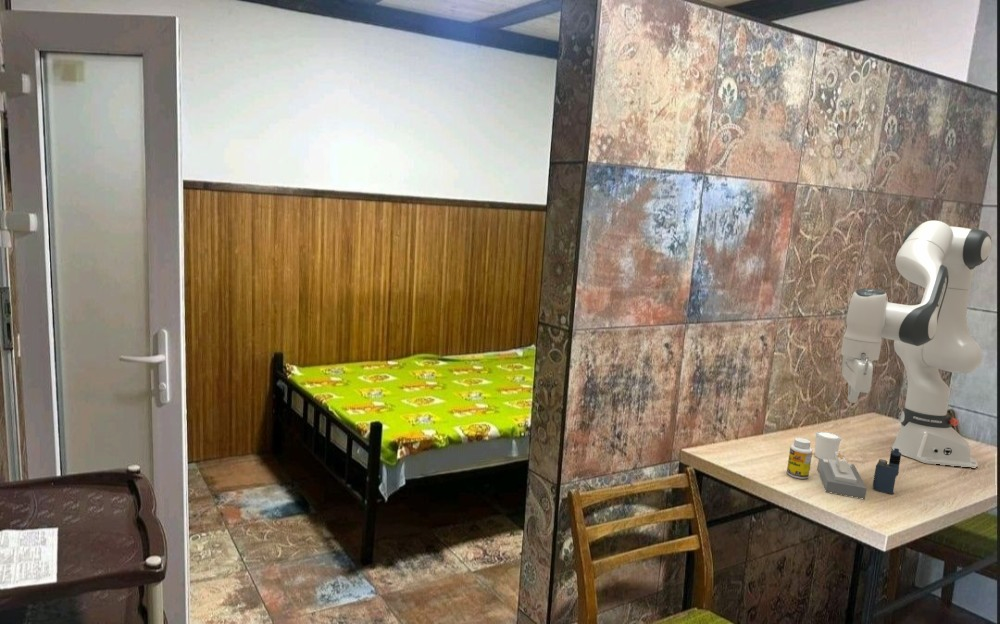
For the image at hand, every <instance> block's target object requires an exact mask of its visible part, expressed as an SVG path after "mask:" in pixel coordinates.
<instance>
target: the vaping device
mask: <svg viewBox="0 0 1000 624" xmlns="http://www.w3.org/2000/svg"><path fill="white" fill-rule="evenodd" d="M889 455H890V456H889V460H888V461H887V460H886V459H881V458H880V459H878V462H877V464H876V465H875V468H874V475H873V481H872V487H873V489H872V490H874V491H876V492H881V493H885V494H888V495H893V494H894V489H895V483H896V478H897V476H898V475H899V472H900V471H899V470H900V463H901V458H902V454H901V453H900V452H899V449H896V448H895V449H894V450H891V451H890V454H889Z"/></svg>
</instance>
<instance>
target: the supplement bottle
mask: <svg viewBox="0 0 1000 624" xmlns="http://www.w3.org/2000/svg"><path fill="white" fill-rule="evenodd" d="M812 457H813V449H812V448H811V441H810V440H809V439H806V438H803V437H795V438H794V442H793V443H792V444H791V445H790V447H789V453H788V461H787V468H786V474H787V475H788V476H790V477H792V478H795V479H799V480H800V479H801V480H806V479H808V478H809V476H810V472H811V471H810V470H811V463H812Z"/></svg>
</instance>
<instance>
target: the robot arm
mask: <svg viewBox="0 0 1000 624" xmlns="http://www.w3.org/2000/svg"><path fill="white" fill-rule="evenodd" d="M991 251H992V236H991V235H990V234H989V232H988V231H986V230H982V229H979V228H974V227H973V228H967V227H961V226H960V227H959V226H953V225H949V224H947V223H946V222H944V221H941V220H927V221H924V222H922V223H921V224H919V225H918V226H915V227H912V228H910V229H909V230H907V231H906V233H905V235H904V236H903V240H902V246H901V247H900V248H899V250H898V252H896V253H897V254H896V256H895V259H894V260H895V266H896V267H895V268H896V269H897V271H898V273H899V274H900V275H901V277H903V278H904V279H905V280H907V281H908V282H910V283H912V284H914V285H917V286H919V287H921V288H923V289H924V292H923V295H922V299H921V302H920V303H919V304H913V305H912V304H911V305H910V304H909V305H908V304H901V303H896V302H895V303H894V302H890V301H889V300H888V296H887V292H886V291H885V290H882V289H878V288H870V287H868V288H859V289H857V290H855V291H853V294H852V296H851V298H850V302H849V305H848V309H847V312H846V313H847V314H846V317H845V318H846V320H845V321H846V322H845V323H846V330H845V332H844V334H843V339H842V343H841V344H842V345H841V351H840V355H842V364H841V376H842V378H843V379H844V380H845V381H846V382H847V384H848V387H847V388H848V389H847V390H848V394H847V399H848V401H849V403H853V404H856V403H857V402H858V399H859V395H860V393H864V394H869V393H870V391H871V387H872V381H873V372H874V365H873V362H874V361H878V360H879V359H880V353H881V348H882V343H883V341H882V339H887V340H892V341H894V342H893V347H894V349H893V350H894V352H895V353H896V355H897V356H898V357H899V358H900V359H901V361H902V364H903V366H904V369H905V374H906V377H907V389H906V397H905V404H904V406H903V407H902V410H901V415H900V427H899V430H898V433H897V436H896V439H895V440H894V443H893V444H892V446H891V449H892V451H894V449H895V448H896V449H899V452H900V453H901V456H905V457H907V458H911V459H913V460H916V461H918V462H921V463H924V464H928V465H936V464H940V465H939V466H945V465H951V466H950V467H954V466H961V467H960V468H962V467H977V466H978V467H979V463H978V461H977V460H976V459H975V458H974V457H973V456H971V447H970V444H969V442H968V441H967V439H965V438H964V437H963V436H962V435H961V434H959V432H958V431H957V430H955V429H954V428H953V427H952V426H954V427H955V426H958V425H959V420H958V419H957V418H955V417H952V415H950V414H948V408H949V402H950V396H951V389H950V387H949V385H948V384H947V383H946V382H945V381H944V380H943V379H942V376H941V374H940V371H939V370H941V371H945V372H950V373H957V374H958V373H959V374H969V373H972V372H974V371H975V370H977V368H979V366H980V365H981V362H982V360H983V350H982V348H981V346H980V345H979V344H978V343H977V342H976V340H975V339H974V338H973V336H972V335H971V332H970V330H969V326H968V325H969V324H968V321H967V311H968V304H969V297H970V292H971V287H972V281H973V270H974V269H975V268H976V267H978V266H980V265H982V264H983V263H984V262H986V261H987V260H988V258H989V256H990V253H991Z"/></svg>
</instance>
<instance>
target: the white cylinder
mask: <svg viewBox="0 0 1000 624" xmlns="http://www.w3.org/2000/svg"><path fill="white" fill-rule="evenodd" d="M841 440H842V437H841V436H840V435H838V434H835V433H832V432H827V431H816V432H815V445H814V446H815V447H814V448H815V449H814V456H815V457H816V458H817V459H818V460H819V459H827V460H828V459H832V460H836V456H835V452H836V451H839V448H840V444H841Z"/></svg>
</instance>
